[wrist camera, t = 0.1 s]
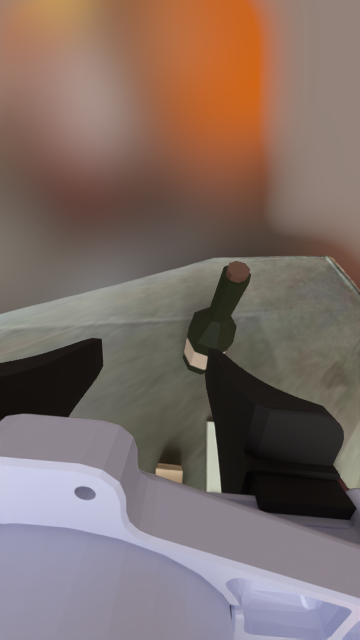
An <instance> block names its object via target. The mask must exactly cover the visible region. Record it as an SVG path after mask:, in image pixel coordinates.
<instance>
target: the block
mask: <svg viewBox="0 0 360 640" xmlns="http://www.w3.org/2000/svg"><path fill="white" fill-rule="evenodd" d="M155 475H158V476H160V477H163V478H166V479H169V480H172V481H175V482H178V483H181V484H182V475H183V471H182V467H181V465H172V464H163V463H158V464H157V467H156V474H155Z"/></svg>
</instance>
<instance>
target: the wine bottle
mask: <svg viewBox="0 0 360 640" xmlns="http://www.w3.org/2000/svg"><path fill="white" fill-rule="evenodd" d="M249 271H250V269H249V267H248V266H247V265H246V264H245V263H242V262H238V261H235V262H232V263H229V265H228V266H225V267H224V268H223V271H222V274H221V277H220V280H219V283H218V286H217V289H216V292H215V294H214V297H213V300H212V303H211V306H210V307H209V308H206V309H203V310H200V311H198V312H195V313H194V316H193V318H192V321H191V324H190V326H189V330H188V335H187V340H186V345H185V350H184V355H183V359H184V361H185V363H186V365H187V368H188V370H191V371H193V372H196V373H199V374H203V373H205V372H206V365H207V358H208V351H209V348H214V349H219V350H220V351H222V352H223V353H225V352H226V351H227V349H228V348H229V347H230V345H231V344H232V343H233V340H234V335H235V331H236V327H237V326H236V325H235V323H234V321H233V319H232V317H231V314H232V312H233V311H234V309H235V307H236V305H237V304H238V302H239V300H240V298H241V296H242V295H243V293H244V291H245V289H246V288H247V286H248V284H249V281H250V277H251V274H250V273H249Z"/></svg>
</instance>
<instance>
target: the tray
mask: <svg viewBox="0 0 360 640" xmlns="http://www.w3.org/2000/svg"><path fill="white" fill-rule="evenodd" d="M205 492H217V493H221V483H220V472H219V461H218V452H217V443H216V434H215V426H214V422H206V491H205Z"/></svg>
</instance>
